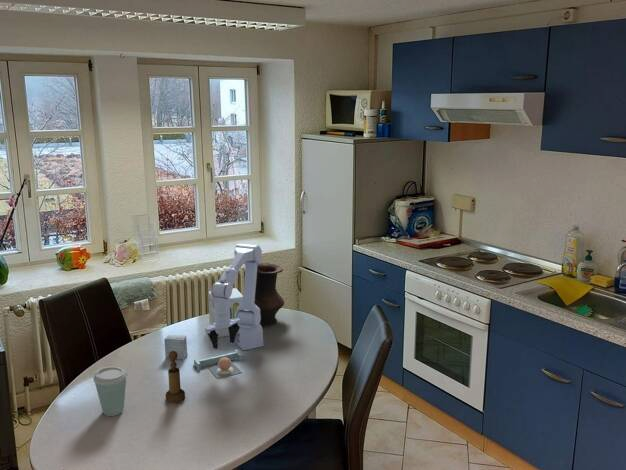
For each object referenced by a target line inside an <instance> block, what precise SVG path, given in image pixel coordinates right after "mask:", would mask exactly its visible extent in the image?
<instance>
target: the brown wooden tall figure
mask: <svg viewBox="0 0 626 470" xmlns="http://www.w3.org/2000/svg"><path fill="white" fill-rule="evenodd" d="M177 356H178V355H177V353H176V352H175V351H171V352H170V353H169V358H168V360H170V363H169V366H170V368H169V369H168V370H167V374H168V390H167V391H166V392H165V401H166V402H167V404H172V405H174V404H175V405H176V404H180V403H182V402H183V401H185V399H186V392H185V390H184V389H182V388H181V370H180V368H179V367H177V362H176V360H178V359H177Z"/></svg>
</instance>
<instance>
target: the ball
mask: <svg viewBox="0 0 626 470" xmlns="http://www.w3.org/2000/svg"><path fill="white" fill-rule="evenodd" d="M231 362H232V360H230V359H229V358H226V357H223V358H221V359H220V360H219V362H218V363H217V366H219V368H220V369H221V370H224V371H225V370H228V369H229V368H230V367H231Z"/></svg>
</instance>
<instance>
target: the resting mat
mask: <svg viewBox="0 0 626 470" xmlns="http://www.w3.org/2000/svg"><path fill="white" fill-rule="evenodd" d="M208 369H209V371H210V372H211V373H212V374H213V376H214V377H215V378H216V379H217V380H218V379H222V378H226V377H231V376H235V375H238V374H239V375H240V374H242V373H243V372H242V371H241V369H240V368H238V367H237V365H236V364H235V363H234V362H232V361H231V367H230V368H229V369H228V370H225V371H224V370H221V369H220V368H219V366H218V365H214V366H211V367H208Z"/></svg>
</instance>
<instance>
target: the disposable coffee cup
mask: <svg viewBox="0 0 626 470" xmlns="http://www.w3.org/2000/svg"><path fill="white" fill-rule="evenodd" d="M127 376H128V374H127V371H126V370H125V369H124V368H122V367H121V366H117V365H115V366H112V365H111V366H109V365H108V366H103V367H100V368H97V369H96V370H95V372H94V376H93V382H94V385H95V388H96V391H97V396H98V399H99V402H100V406H101V409H102V412H103V414H104V415H105V416H107V417H115V416H118V415H120V414H122V412H123V410H124V408H125V399H126V398H125V397H126V386H127Z"/></svg>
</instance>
